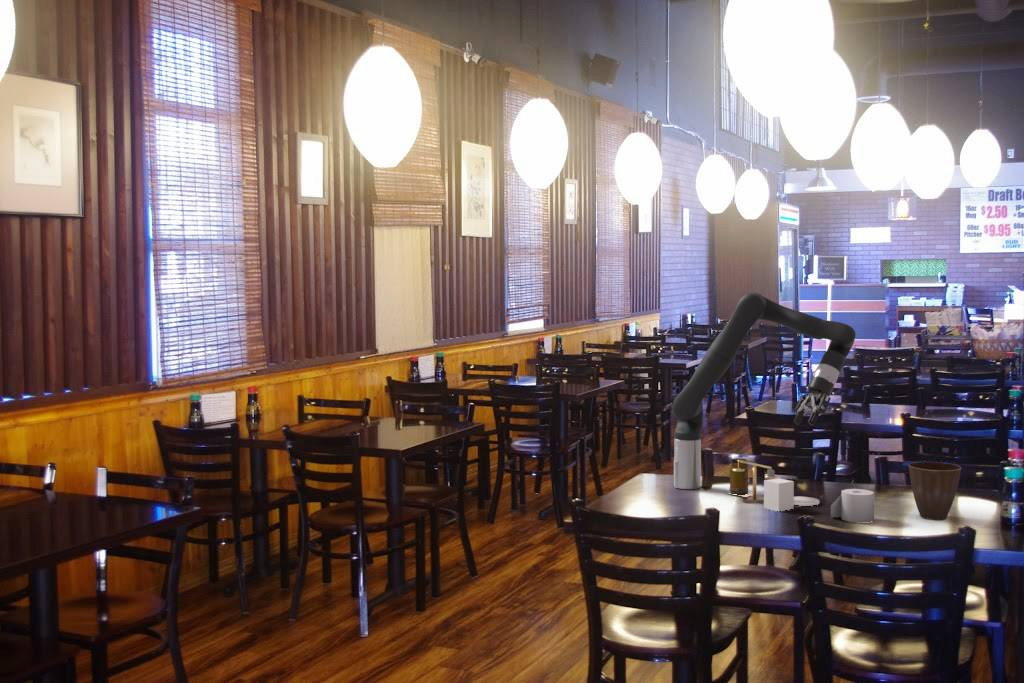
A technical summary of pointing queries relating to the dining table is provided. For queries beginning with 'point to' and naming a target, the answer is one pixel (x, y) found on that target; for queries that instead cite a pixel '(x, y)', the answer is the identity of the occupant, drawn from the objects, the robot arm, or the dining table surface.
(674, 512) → the dining table surface
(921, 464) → the plant pot
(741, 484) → the condiment
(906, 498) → the dining table surface
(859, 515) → the toilet tissue
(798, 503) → the dish
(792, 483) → the white rectangular block
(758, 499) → the balance
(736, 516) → the dining table surface
